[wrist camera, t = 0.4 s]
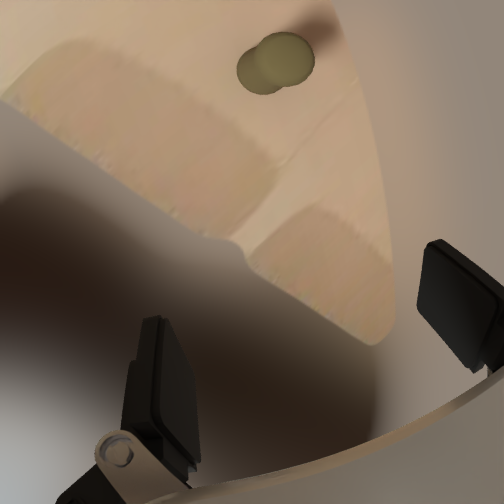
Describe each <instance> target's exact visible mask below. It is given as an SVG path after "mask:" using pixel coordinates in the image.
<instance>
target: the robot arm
mask: <svg viewBox="0 0 504 504" xmlns="http://www.w3.org/2000/svg"><path fill="white" fill-rule="evenodd" d="M417 309H418V311H419V313H420V314H421V315H422V316H423V317H424V319H425V320H426V321H427V322H428V323H429V324H430V325H431V327H432V328H433V329H434V330H435V331H436V332H437V333H438V334H439V336H440V337H441V338H442V339H443V341H445V343H446V344H447V345H448V346H449V348H450V349H451V350H452V351H453V353H454V354H455V355H456V356H457V357H458V358H459V360H460V361H461V362H462V364H463V365H464V366H465V367H466V368H470V370H471V371H472V372H473V373H475V372H477V371H479V370H480V369H482V368H483V366H484V364H486V365H487V367H488V368H487V369H488V370H487V378H486V379H485V380H483V381H482V382H480V383H479V384H477V385H476V386H474V387H472V388H471V389H469V390H468V391H466V392H465V393H463V394H461V395H460V396H458V397H456V398H455V399H453V400H451V401H450V402H448V403H446V404H445V405H443V406H441V407H439V408H438V409H436V410H434V411H432V412H430V413H429V414H427V415H425V416H423V417H421V418H419V419H417V420H415V421H413V422H411V423H409V424H407V425H405V426H403V427H401V428H399V429H396V430H394V431H392V432H390V433H388V434H385V435H383V436H381V437H378V438H376V439H374V440H371V441H369V442H366V443H364V444H361V445H359V446H356V447H353V448H351V449H348V450H346V451H343V452H340V453H337V454H334V455H332V456H328V457H325V458H322V459H319V460H316V461H313V462H309V463H306V464H302V465H299V466H295V467H291V468H288V469H284V470H280V471H276V472H272V473H268V474H264V475H259V476H255V477H250V478H245V479H240V480H235V481H229V482H224V483H219V484H214V485H209V486H202V487H197V488H192V487H191V486H190V485H189V484H188V483H187V482H186V481H187V480H188V473H189V472H197V467H196V463H200V462H201V453H200V442H199V430H198V417H197V402H196V386H195V385H196V384H195V376H194V372H193V369H192V368H191V366H190V364H189V361H188V360H187V357H186V355H185V353H184V351H183V350H182V347H181V345H180V343H179V341H178V339H177V337H176V335H175V333H174V331H173V328H172V326H171V324H170V322H169V320H168V319H167V318H164V319H162V317H161V315H157V316H153V317H148V318H144V319H143V322H142V328H141V333H140V339H139V345H138V352H137V358H136V360H133V361H131V362H130V365H129V369H128V375H127V382H126V389H125V396H124V403H123V411H122V420H121V429H120V430H115V431H111V432H109V433H107V434H106V435H104V436H103V437H102V438H101V439H100V440H99V442H98V444H97V445H96V448H95V453H94V454H95V461H96V464H95V465H94V466H93V467H92V468H91V469H90V470H89V471H87V472H86V473H85V474H84V475H83V476H82V477H81V478H79V479H78V480H77V481H76V482H75V483H74V484H73V485H71V486H70V487H69V488H68V489H67V490H66V491H64V492H63V493H62V494H61V495H60V496H59V498H58V499H57V501H56V503H55V504H504V287H503V286H502V285H501V284H500V283H499V282H497V281H496V280H495V279H494V278H493V277H491V276H490V275H489V274H488V273H486V272H485V271H484V270H482V269H481V268H480V267H479V266H478V265H476V264H475V263H474V262H472V261H471V260H469V258H467V257H466V256H464V255H463V254H462V253H461V252H459V251H458V250H457V249H455V248H454V247H452V246H451V245H450V244H448V243H447V242H446V241H444V240H442V239H438V240H435V241H432V242H429V243H428V244H427V246H426V248H425V249H424V256H423V264H422V271H421V279H420V286H419V292H418V298H417Z"/></svg>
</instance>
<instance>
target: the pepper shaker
mask: <svg viewBox="0 0 504 504" xmlns="http://www.w3.org/2000/svg"><path fill="white" fill-rule="evenodd" d="M314 65H315V56H314V53H313V50H312V48H311V46H310V45H309V44H308V42H307V41H306V40H304V39H303V38H302V37H301V36H299V35H296V34H294V33H289V32H278V33H273V34H271V35H269V36H267V37H265V38H264V39H263V40H262V41H261V42H260V43H259V45H258V46H257V47H255V48H252V49H250V50H248V51H247V52H245V53H244V54H243V55H242V56H241V58H240V59H239V62H238V64H237V76H238V78H239V81H240V82H241V84H242V85H243V86H244V87H245V88H246V89H247V90H249V91H250V92H253V93H256V94H259V95H267V94H271V93H275V92H276V91H278V90H279V89H281V88H282V87H290V86H294V85H298V84H300V83H302V82H303V81H305V80H306V79H307V78H308V76H309V75H310V74H311V73H312V71H313V68H314Z"/></svg>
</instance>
